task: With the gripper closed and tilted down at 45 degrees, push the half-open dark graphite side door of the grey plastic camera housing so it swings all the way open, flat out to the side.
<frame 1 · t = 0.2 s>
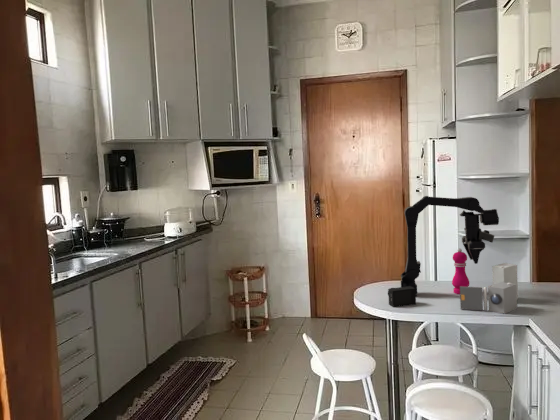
hand: (473, 261, 200), 15 cm above the worktop, tool pointing down, fingers open, 9 cm apart
camera housing: (502, 309, 177), on the worktop
side door: (473, 298, 178), point 5 cm above the worktop, hinge at 120.0°
digital camera: (401, 304, 193), on the worktop
skincare box: (505, 300, 190), on the worktop
pepper mill: (461, 293, 205), on the worktop
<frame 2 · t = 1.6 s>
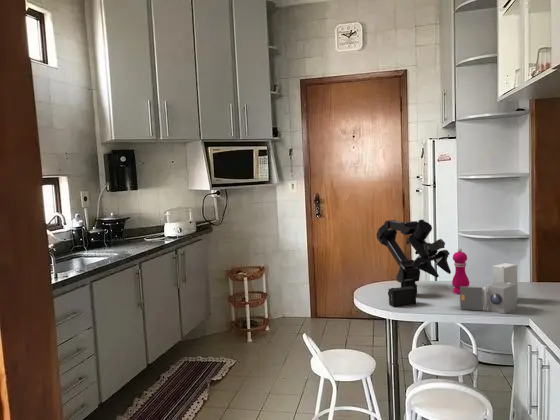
hand: (444, 275, 187), 12 cm above the worktop, tool tilted 45°, fingers open, 8 cm apart
nothing on the worktop moved.
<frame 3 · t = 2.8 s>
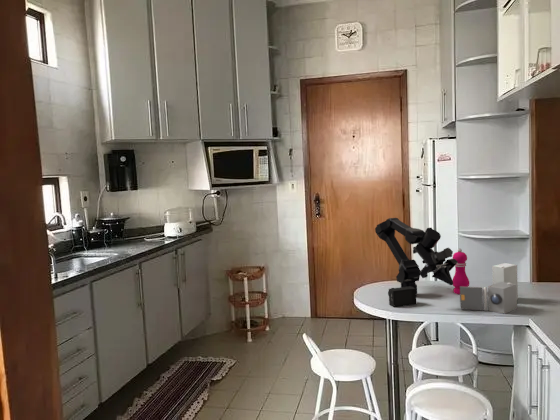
hand: (452, 284, 184), 9 cm above the worktop, tool tilted 45°, fingers closed
nothing on the worktop moved.
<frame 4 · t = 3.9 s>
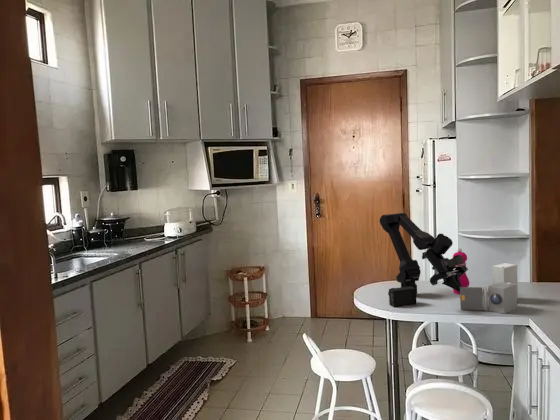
hand: (462, 292, 180), 7 cm above the worktop, tool tilted 45°, fingers closed
side door: (473, 298, 178), point 5 cm above the worktop, hinge at 124.0°, touching gripper
everything else where it was.
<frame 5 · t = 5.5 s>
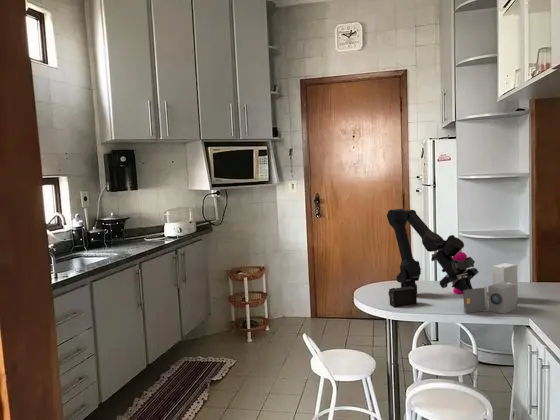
hand: (473, 295, 177), 6 cm above the worktop, tool tilted 45°, fingers closed
side door: (476, 300, 176), point 5 cm above the worktop, hinge at 156.3°, touching gripper
everything else where it was.
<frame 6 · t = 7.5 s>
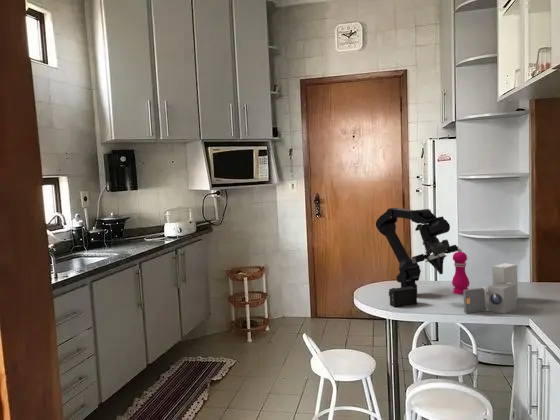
hand: (441, 274, 190), 12 cm above the worktop, tool tilted 20°, fingers closed
side door: (476, 300, 176), point 5 cm above the worktop, hinge at 156.3°
everything else where it was.
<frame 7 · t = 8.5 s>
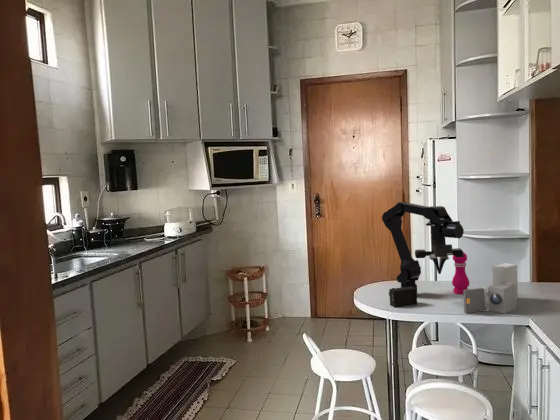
hand: (439, 273, 192), 12 cm above the worktop, tool pointing down, fingers closed
nothing on the worktop moved.
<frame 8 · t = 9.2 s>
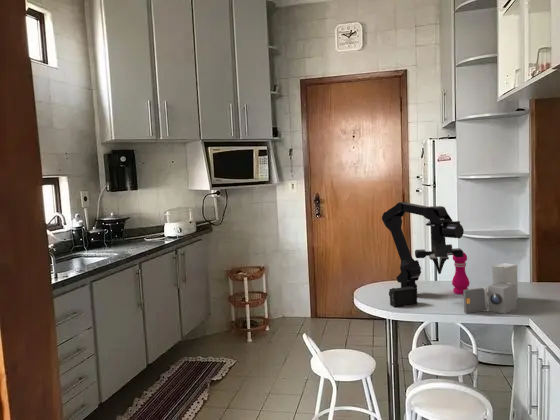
hand: (439, 273, 192), 12 cm above the worktop, tool pointing down, fingers closed
nothing on the worktop moved.
at the end: side door at +156° (first picture: +120°) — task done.
